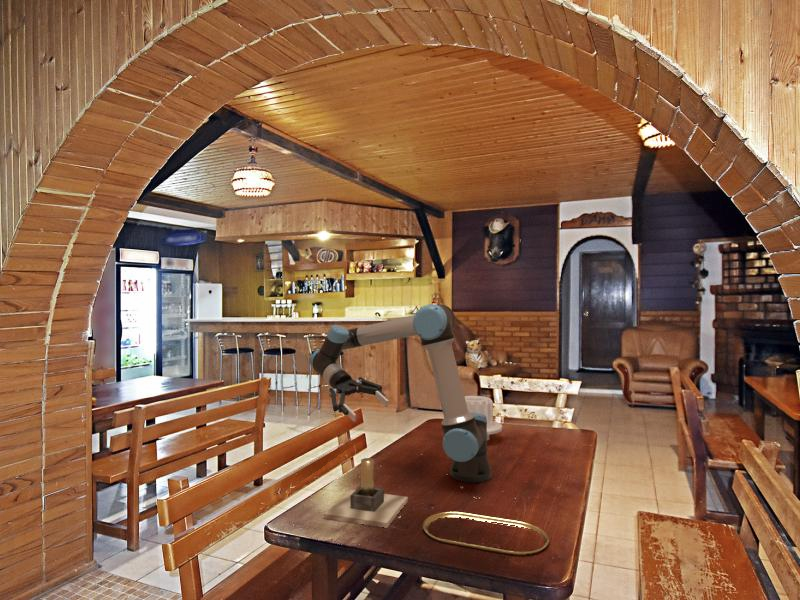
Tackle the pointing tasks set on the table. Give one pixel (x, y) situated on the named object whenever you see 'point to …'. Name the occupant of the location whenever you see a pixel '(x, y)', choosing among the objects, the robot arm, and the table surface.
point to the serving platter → (488, 519)
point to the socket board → (367, 508)
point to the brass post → (367, 477)
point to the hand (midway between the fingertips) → (371, 411)
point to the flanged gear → (483, 412)
